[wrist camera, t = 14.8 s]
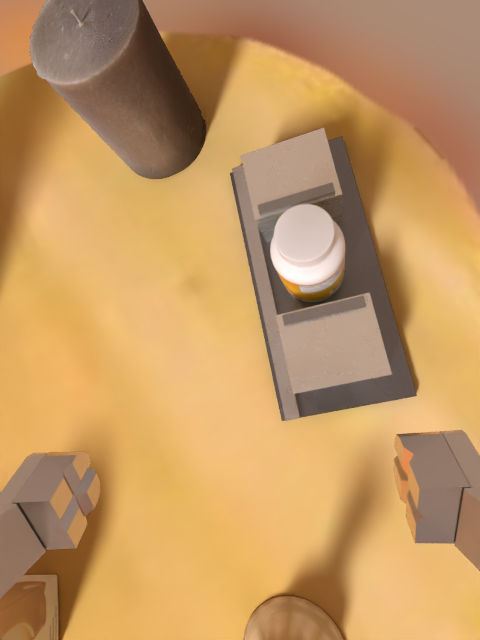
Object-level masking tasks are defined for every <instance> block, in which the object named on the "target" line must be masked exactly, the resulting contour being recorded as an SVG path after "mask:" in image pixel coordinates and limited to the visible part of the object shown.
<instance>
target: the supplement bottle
mask: <svg viewBox="0 0 480 640" xmlns="http://www.w3.org/2000/svg"><path fill="white" fill-rule="evenodd" d="M270 254H271V259H272V262H273V265H274V267H275V269H276V271H277V273H278V275H279V277H280V278H281V280H282V282H283V284H284V286H285V287H286V289H287V290H288V292H289V293H290V294H291V295H293V296H294V297H295V298H297V299H299V300H302V301H306V302H318V301H322V300H325V299H327V298H329V297H330V296H332V295H333V294H334V293H335V292H336V291H337V290H338V288H339V287H340V285H341V283H342V281H343V277H344V270H345V240H344V236H343V233H342V231H341V229H340V227H339V226H338V225H337V224H336V222H335V221H333V220H332V218H331V216H330V215H329V214H328V213H327V212H326V211H325V210H324V209H322V208H321V207H319V206H316V205H312V204H300V205H296V206H294V207H291V208H290V209H288V210H287V211H285V212H284V213H283V214H282V215H281V216H280V218H279V219H278V221H277V223H276V225H275V228H274V235H273V238H272V241H271V246H270Z"/></svg>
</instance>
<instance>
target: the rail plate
mask: <svg viewBox="0 0 480 640" xmlns="http://www.w3.org/2000/svg"><path fill="white" fill-rule="evenodd" d="M241 159H242V163H243V165H242V166H239V167H236V168H233V169H232V170H233V172H232V173H230V176H231V180H232V185H233V190H234V195H235V200H236V204H237V209H238V214H239V219H240V223H241V228H242V233H243V238H244V242H245V247H246V252H247V257H248V261H249V266H250V271H251V276H252V280H253V285H254V290H255V295H256V300H257V304H258V309H259V314H260V319H261V323H262V328H263V333H264V338H265V342H266V347H267V352H268V357H269V361H270V366H271V371H272V376H273V381H274V385H275V390H276V395H277V400H278V404H279V409H280V414H281V419H282V421H284V420H292V419H297V418H300V417H306V416H311V415H316V414H322V413H327V412H333V411H338V410H343V409H349V408H354V407H360V406H365V405H370V404H376V403H381V402H386V401H392V400H397V399H403V398H408V397H413V396H417V395H416V391H415V388H414V384H413V381H412V377H411V374H410V370H409V367H408V363H407V360H406V356H405V353H404V349H403V346H402V342H401V339H400V335H399V332H398V328H397V325H396V321H395V318H394V314H393V311H392V307H391V304H390V300H389V297H388V293H387V290H386V286H385V283H384V279H383V276H382V272H381V269H380V266H379V262H378V259H377V255H376V252H375V248H374V245H373V241H372V238H371V234H370V231H369V227H368V224H367V220H366V217H365V213H364V210H363V206H362V203H361V199H360V196H359V192H358V189H357V185H356V182H355V178H354V175H353V171H352V168H351V164H350V161H349V157H348V154H347V150H346V147H345V143H344V140H343V136H341V137H338V138H335V139H332V140H329V141H328V140H327V137H326V133H325V130H324V128H321V129H318V130H315V131H312V132H309V133H306V134H303V135H300V136H297V137H294V138H291V139H288V140H285V141H282V142H279V143H276V144H273V145H271V146H268V147H265V148H262V149H259V150H256V151H253V152H250V153H247V154H244V155H241ZM300 204H312V205H316V206H319V207H321V208H322V209H324V210H325V211H326V212H327V213H328V214H329V215H330V216H331V218H332V220H333V221H335V222H336V224H337V225H338V226H339V227H340V229H341V231H342V233H343V236H344V240H345V270H344V277H343V281H342V283H341V285H340V287H339V288H338V290H337V291H336V292H335V293H334V294H333V295H332V296H330V297H329V298H327V299H325V300H322V301H318V302H306V301H302V300H299V299H297V298H295V297H294V296H293V295H291V294H290V293H289V292H288V290H287V289H286V287H285V286H284V284H283V282H282V280H281V278H280V277H279V275H278V273H277V271H276V269H275V267H274V265H273V262H272V259H271V254H270V246H271V241H272V238H273V235H274V228H275V225H276V223H277V221H278V219H279V218H280V216H281V215H282V214H283V213H284V212H285V211H287V210H288V209H290V208H291V207H294V206H296V205H300Z"/></svg>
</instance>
